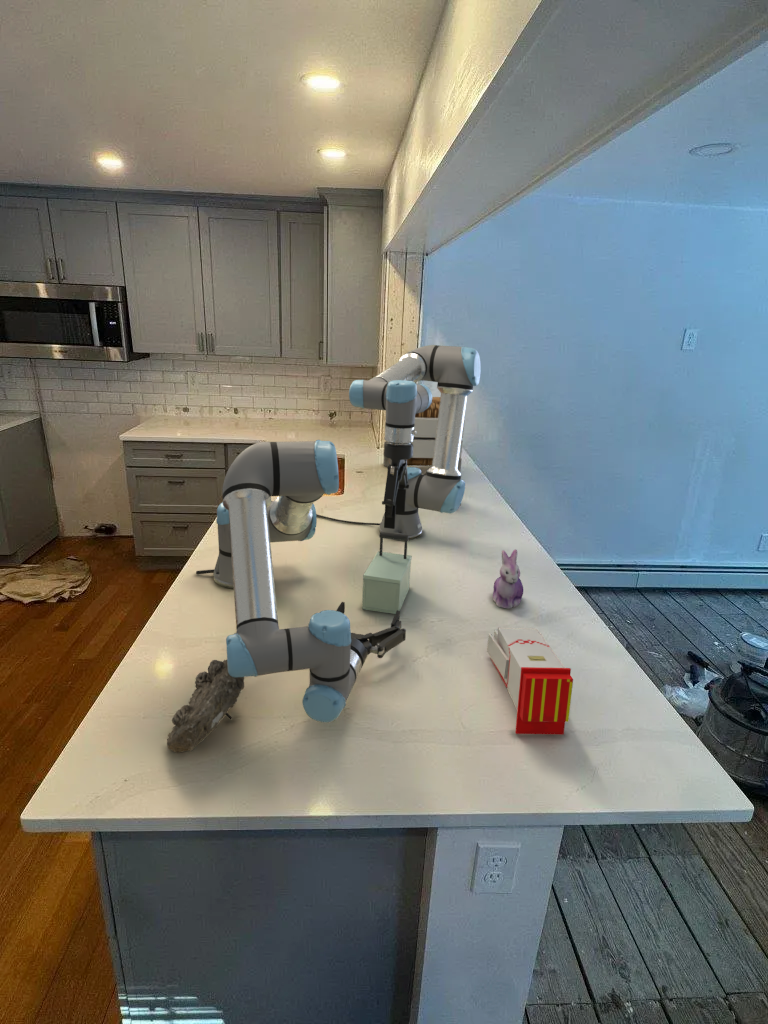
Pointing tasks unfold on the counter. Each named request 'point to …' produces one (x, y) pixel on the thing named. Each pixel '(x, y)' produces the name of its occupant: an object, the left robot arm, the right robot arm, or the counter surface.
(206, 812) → the counter surface
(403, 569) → the lid
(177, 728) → the fossil
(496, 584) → the figurine
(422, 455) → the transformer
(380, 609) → the chest
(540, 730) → the toy
